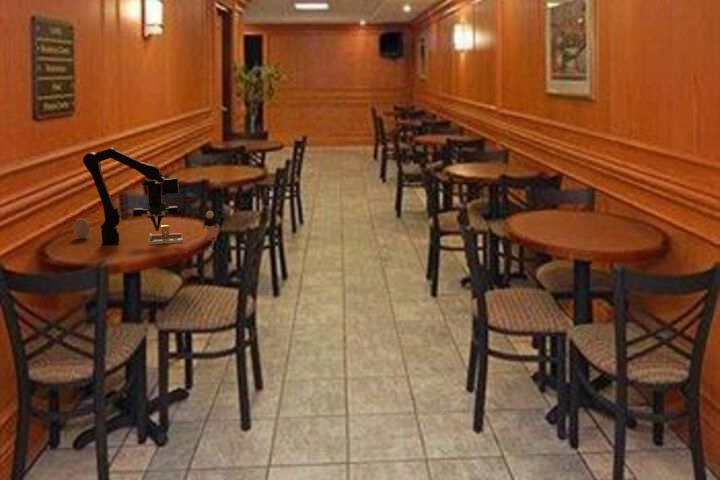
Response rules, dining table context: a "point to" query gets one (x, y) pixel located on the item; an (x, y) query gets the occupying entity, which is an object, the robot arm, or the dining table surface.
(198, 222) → the dining table surface
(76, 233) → the egg
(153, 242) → the gauge board
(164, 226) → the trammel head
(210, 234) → the grandmother figurine
